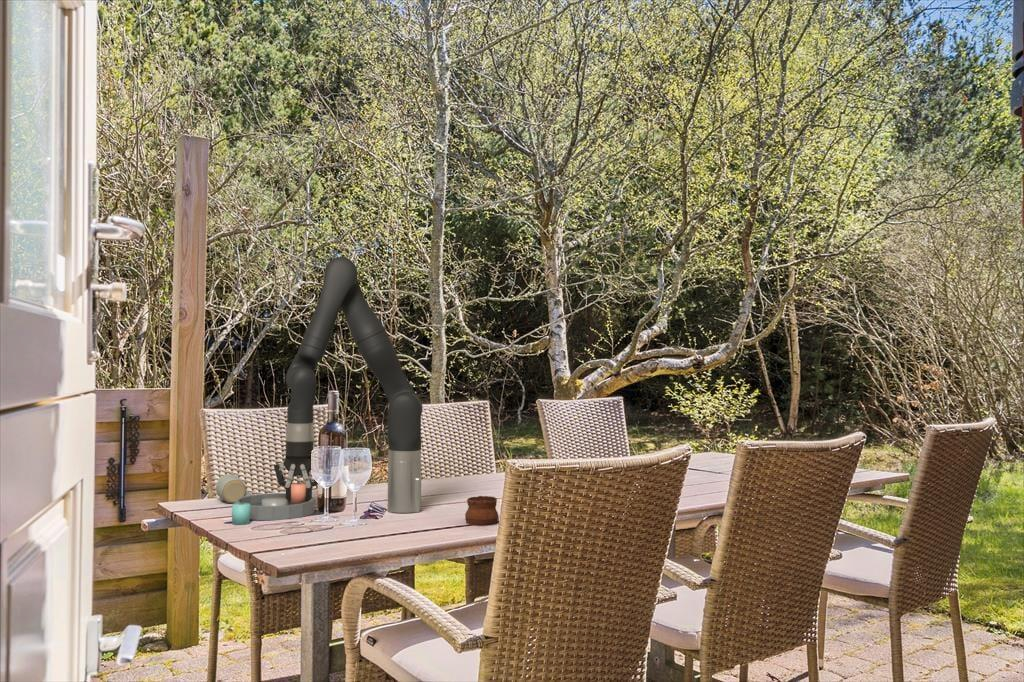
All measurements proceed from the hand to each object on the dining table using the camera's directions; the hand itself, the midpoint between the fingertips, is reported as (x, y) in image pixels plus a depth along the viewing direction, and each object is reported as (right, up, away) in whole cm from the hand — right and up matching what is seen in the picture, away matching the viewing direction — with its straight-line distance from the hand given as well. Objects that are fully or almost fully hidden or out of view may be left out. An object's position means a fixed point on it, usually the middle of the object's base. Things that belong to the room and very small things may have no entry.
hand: (298, 500), depth 239 cm
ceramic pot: (+51, -5, -9) cm, 52 cm away
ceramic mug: (-22, -3, +15) cm, 27 cm away
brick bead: (0, 0, 0) cm, 0 cm away
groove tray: (-7, -3, 0) cm, 7 cm away
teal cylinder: (-11, -3, -15) cm, 19 cm away
